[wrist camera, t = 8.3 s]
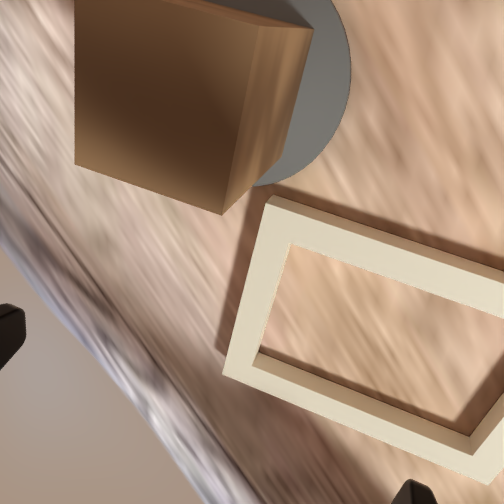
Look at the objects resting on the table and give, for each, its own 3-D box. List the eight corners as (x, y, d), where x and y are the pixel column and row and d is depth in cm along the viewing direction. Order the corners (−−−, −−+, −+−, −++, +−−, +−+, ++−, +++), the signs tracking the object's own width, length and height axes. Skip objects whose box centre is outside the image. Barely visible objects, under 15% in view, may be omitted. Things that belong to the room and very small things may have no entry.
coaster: (313, 208, 20) (310, 212, 19) (140, 150, 21) (133, 152, 20) (386, -19, 15) (385, -21, 14) (159, -73, 16) (151, -76, 16)
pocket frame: (484, 465, 23) (488, 485, 22) (229, 360, 25) (221, 374, 24) (615, 309, 17) (628, 326, 16) (272, 194, 20) (265, 202, 19)
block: (281, 156, 18) (221, 215, 12) (177, 124, 19) (74, 164, 13) (314, 29, 16) (259, 26, 10) (192, -3, 17) (74, -23, 11)
